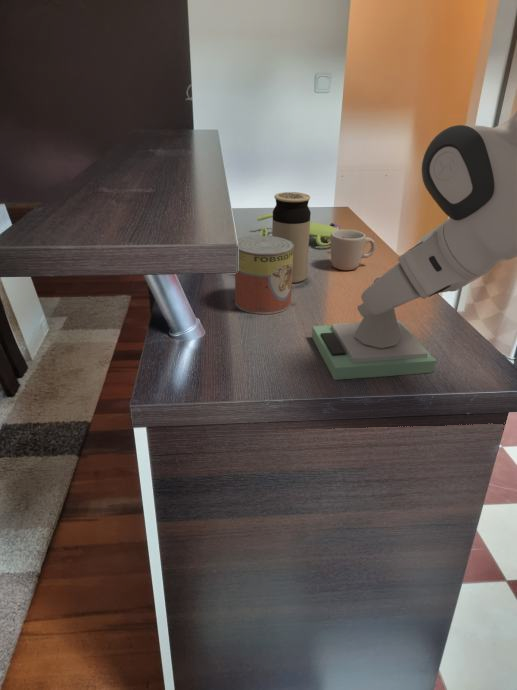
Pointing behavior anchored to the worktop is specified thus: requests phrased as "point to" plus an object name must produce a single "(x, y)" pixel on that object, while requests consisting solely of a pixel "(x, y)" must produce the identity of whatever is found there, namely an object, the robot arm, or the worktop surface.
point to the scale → (369, 353)
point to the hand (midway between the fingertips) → (379, 302)
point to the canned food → (264, 274)
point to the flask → (379, 329)
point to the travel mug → (294, 228)
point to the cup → (349, 248)
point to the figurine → (311, 230)
